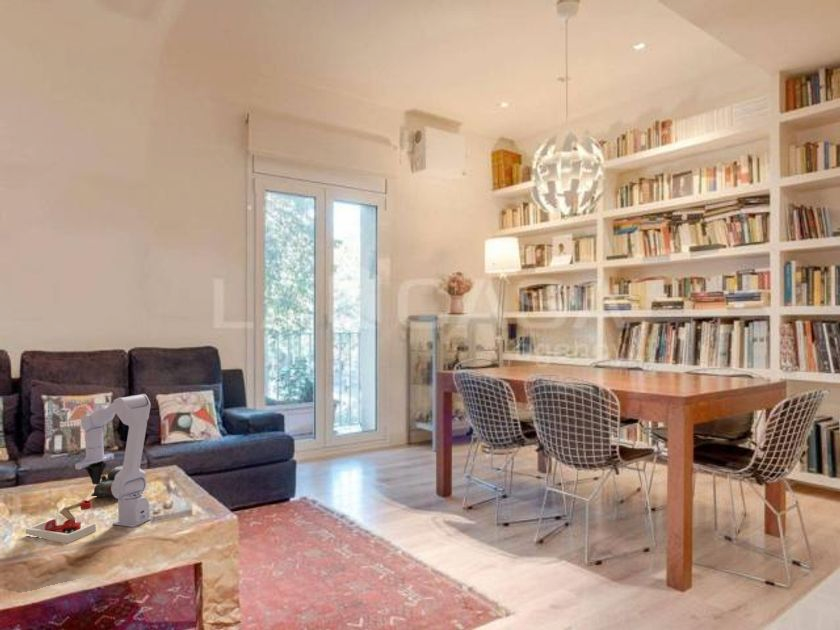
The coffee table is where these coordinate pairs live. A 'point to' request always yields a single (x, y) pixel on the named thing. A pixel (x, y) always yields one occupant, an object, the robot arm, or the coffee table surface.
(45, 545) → the coffee table surface
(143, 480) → the robot arm
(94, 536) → the coffee table surface
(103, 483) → the dark grey lumpy shape
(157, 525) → the coffee table surface
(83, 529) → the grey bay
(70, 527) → the toy fire truck
